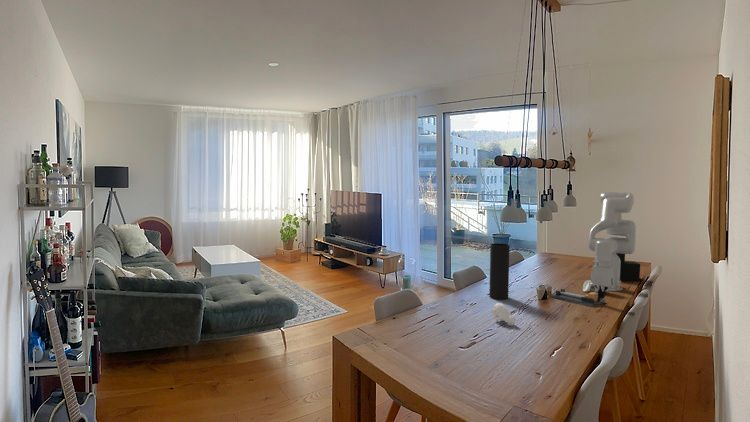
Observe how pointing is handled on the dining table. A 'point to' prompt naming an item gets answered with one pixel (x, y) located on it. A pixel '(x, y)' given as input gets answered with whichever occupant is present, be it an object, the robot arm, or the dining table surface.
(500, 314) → the white rounded lump
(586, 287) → the spread jar
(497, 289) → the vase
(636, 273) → the bookend
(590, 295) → the block
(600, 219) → the robot arm
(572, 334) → the dining table surface
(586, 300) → the plate
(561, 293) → the strap
